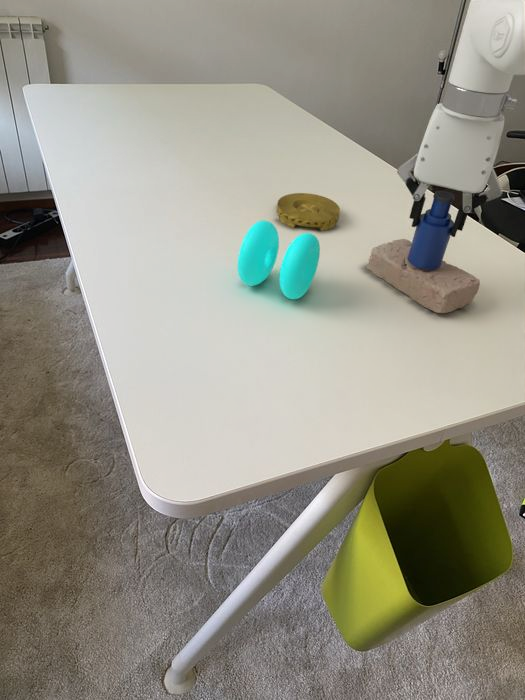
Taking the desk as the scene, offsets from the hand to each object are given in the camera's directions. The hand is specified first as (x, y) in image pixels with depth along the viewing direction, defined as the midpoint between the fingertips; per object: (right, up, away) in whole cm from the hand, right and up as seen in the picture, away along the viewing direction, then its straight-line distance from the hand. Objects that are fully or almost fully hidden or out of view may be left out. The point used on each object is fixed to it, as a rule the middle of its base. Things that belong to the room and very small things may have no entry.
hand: (434, 227), depth 83 cm
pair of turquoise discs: (-24, -9, +3) cm, 26 cm away
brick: (-1, -8, +7) cm, 11 cm away
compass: (-17, +7, +24) cm, 30 cm away
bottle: (0, -5, +4) cm, 6 cm away
